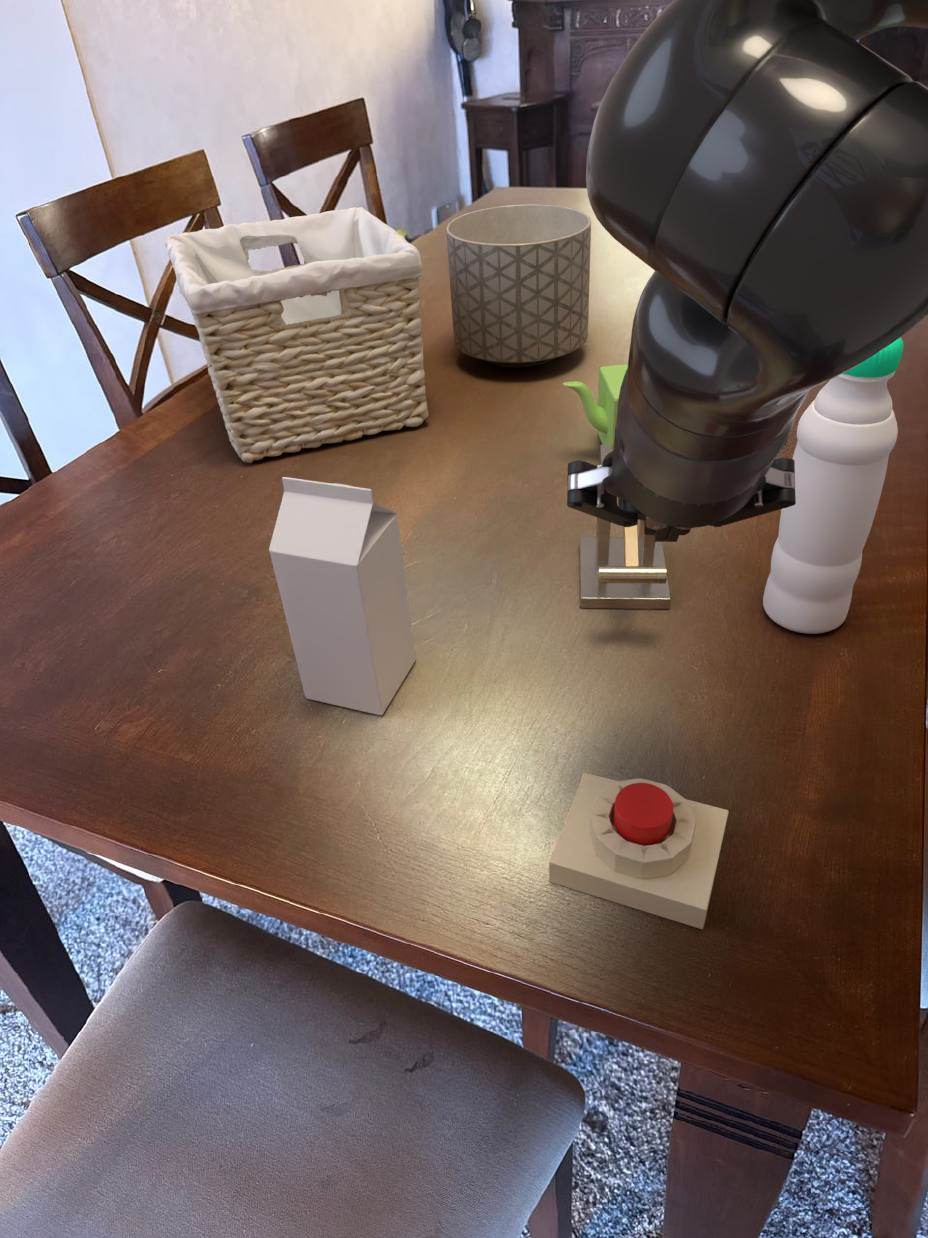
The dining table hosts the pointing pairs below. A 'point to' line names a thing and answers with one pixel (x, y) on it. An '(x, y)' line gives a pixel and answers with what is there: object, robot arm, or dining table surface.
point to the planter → (519, 282)
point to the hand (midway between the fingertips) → (664, 527)
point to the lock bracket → (612, 554)
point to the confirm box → (640, 854)
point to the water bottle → (833, 496)
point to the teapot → (602, 401)
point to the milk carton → (343, 593)
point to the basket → (307, 329)
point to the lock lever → (632, 565)
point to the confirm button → (643, 813)
